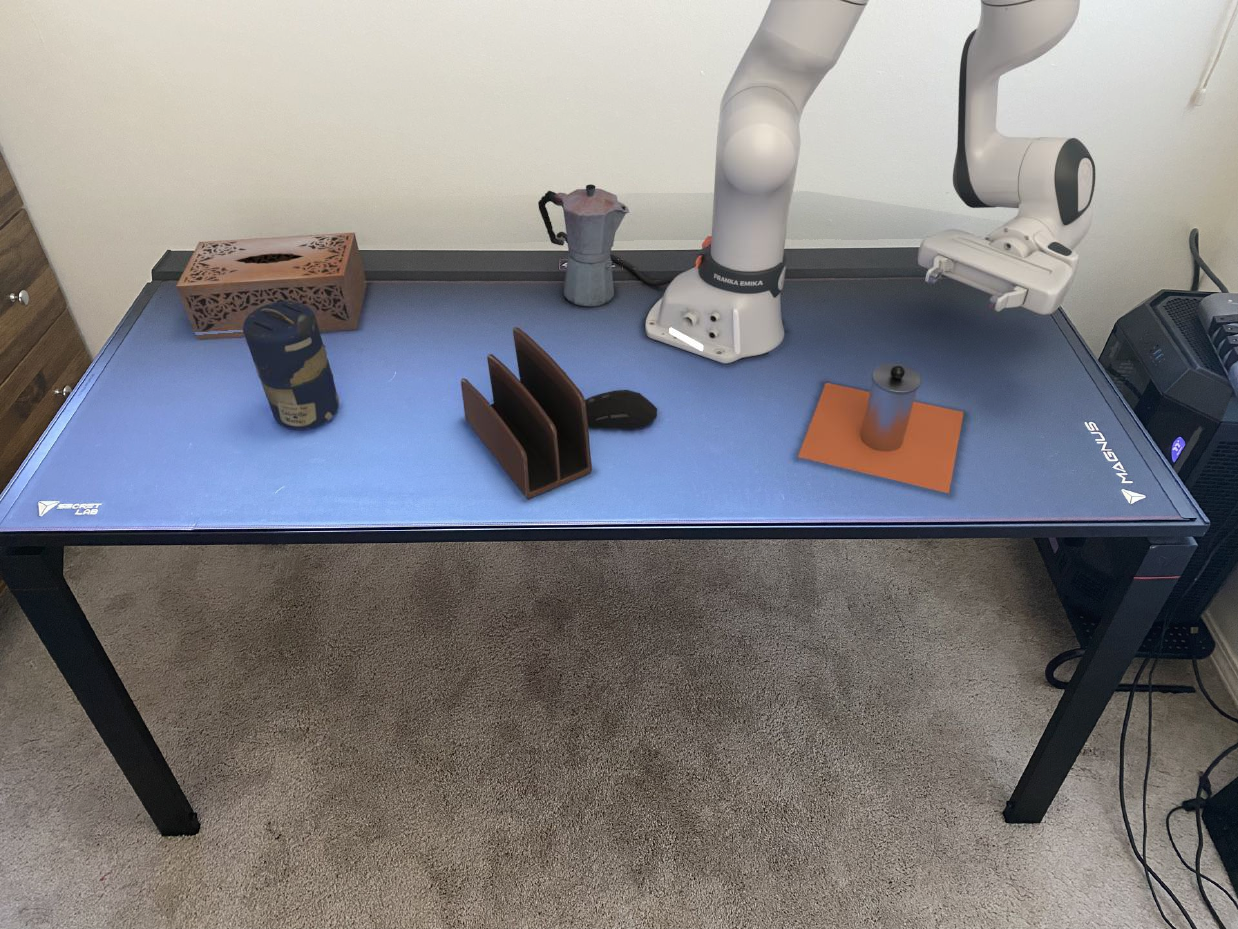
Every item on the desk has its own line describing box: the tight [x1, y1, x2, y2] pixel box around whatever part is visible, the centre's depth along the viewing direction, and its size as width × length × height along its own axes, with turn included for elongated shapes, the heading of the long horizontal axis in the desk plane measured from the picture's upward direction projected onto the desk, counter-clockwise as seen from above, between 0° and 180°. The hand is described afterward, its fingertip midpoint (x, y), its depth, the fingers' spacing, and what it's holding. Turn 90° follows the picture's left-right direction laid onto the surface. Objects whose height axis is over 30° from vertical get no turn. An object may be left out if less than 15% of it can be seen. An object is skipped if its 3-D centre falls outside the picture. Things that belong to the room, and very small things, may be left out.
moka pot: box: [537, 183, 630, 307], centre depth 148 cm, size 10×15×20 cm, turn 78°
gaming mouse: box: [585, 389, 658, 431], centre depth 128 cm, size 6×15×4 cm, turn 88°
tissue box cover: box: [175, 232, 368, 341], centre depth 149 cm, size 26×14×10 cm, turn 96°
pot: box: [861, 363, 922, 452], centre depth 120 cm, size 6×6×12 cm
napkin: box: [797, 382, 964, 494], centre depth 125 cm, size 20×18×1 cm
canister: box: [243, 301, 340, 431], centre depth 125 cm, size 10×10×18 cm
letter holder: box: [460, 326, 593, 500], centre depth 120 cm, size 10×20×14 cm, turn 32°
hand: (961, 291), depth 118 cm, fingers open, 8 cm apart
